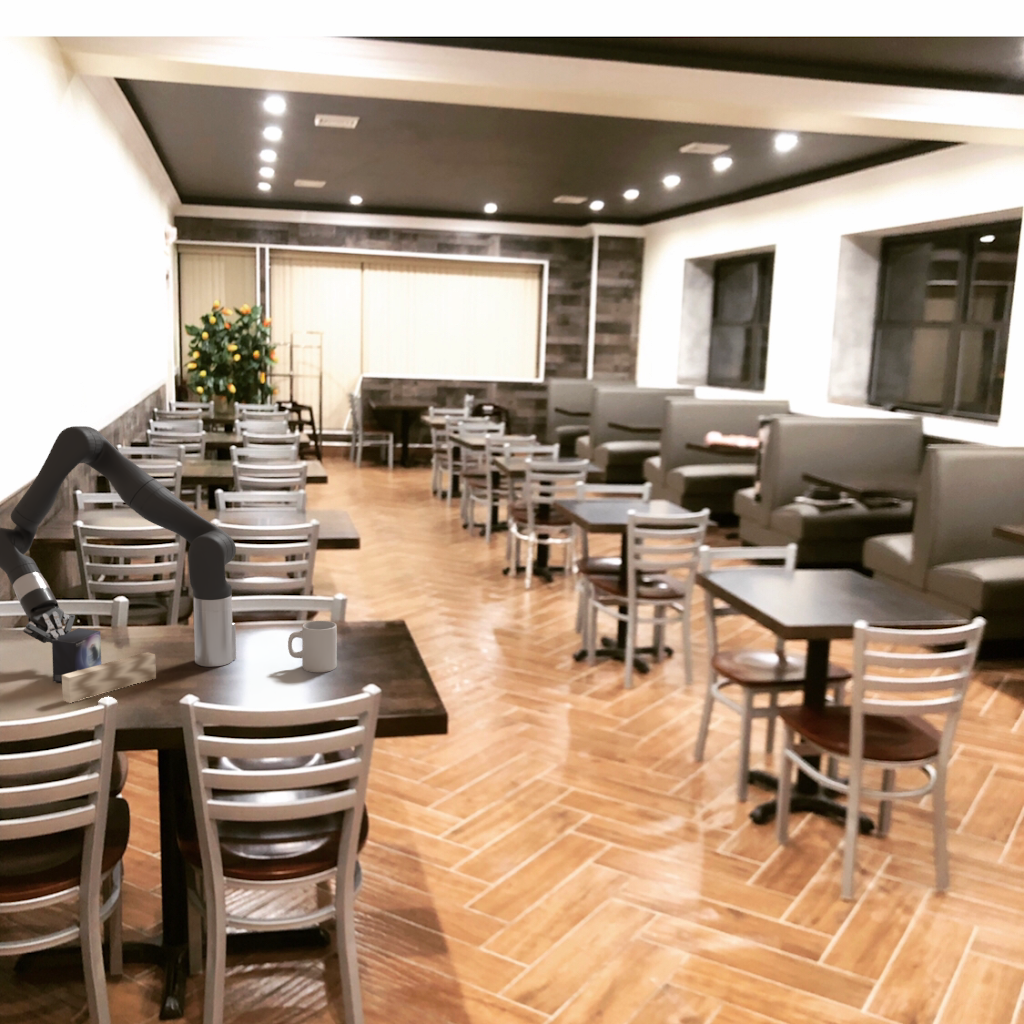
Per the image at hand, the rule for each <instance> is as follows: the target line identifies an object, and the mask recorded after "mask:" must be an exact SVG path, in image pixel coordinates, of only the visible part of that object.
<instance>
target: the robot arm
mask: <svg viewBox="0 0 1024 1024" xmlns="http://www.w3.org/2000/svg"><path fill="white" fill-rule="evenodd" d="M80 464H85V465H87V466H89V467H91V469H94V470H95V471H96V472H98V473H99V474H100V475H102V476H103V477H105V478H106V480H108V482H110V484H111V485H112V487H113V488H114V490H115V491H116V493H117V494H118V496H119V498H121V500H122V501H123V503H125V505H127V506H128V508H130V509H131V510H133V511H134V512H135V513H137V514H138V515H139V516H140V517H141V518H142V519H144V520H146V521H148V522H150V523H151V524H154V525H156V526H158V527H161V528H163V529H166V530H168V531H170V532H173V533H174V534H177V535H179V536H180V537H181V538H183V539H184V540H186V541H187V542H188V543H189V545H190V546H189V547H188V548H189V549H188V553H187V554H188V557H187V559H188V573H189V574H188V575H189V584H190V586H191V589H192V591H193V592H192V593H193V594H192V595H193V629H194V630H193V631H194V633H193V635H194V663H195V664H196V665H198V666H201V667H209V668H211V667H212V668H213V667H222V666H225V665H228V664H231V663H232V662H233V661H234V660H236V659H237V643H236V642H237V639H236V638H237V636H236V635H237V634H236V623H235V622H233V600H232V598H233V596H232V593H233V592H232V590H233V589H232V584H231V583H230V582H229V581H227V579H226V565H227V564H228V563H230V562H232V560H233V559H234V558H235V556H236V552H237V547H236V543H235V541H234V540H233V538H232V537H231V536H230V534H228V533H227V532H226V531H224V530H223V529H221V528H219V526H216V525H215V524H213V523H212V522H210V521H209V520H207V519H206V518H204V517H202V516H201V515H200V514H198V513H197V512H196V511H195V510H194V509H192V508H191V507H190V506H189V505H187V504H186V503H185V502H184V501H182V500H181V499H180V498H179V497H177V496H176V495H175V494H174V493H172V492H171V491H170V490H169V489H168V488H167V487H166V486H165V485H163V484H161V483H160V482H159V481H158V480H156V479H155V478H154V477H153V476H151V475H150V474H148V473H147V472H146V471H145V470H143V469H142V468H141V467H140V466H138V465H137V464H135V462H133V461H131V460H130V459H129V458H128V457H126V456H125V455H124V454H122V452H120V451H119V450H118V449H117V448H116V447H115V446H114V445H113V444H112V443H111V442H110V441H109V440H108V439H107V438H106V437H105V436H104V435H103V434H102V433H101V432H100V431H99V430H97V429H95V428H93V427H90V426H81V425H79V426H77V425H76V426H70V427H66V428H64V429H63V430H62V431H60V433H59V434H58V436H56V439H55V440H54V442H53V445H52V447H51V449H50V451H49V454H48V456H47V457H46V459H45V460H44V463H43V465H42V467H41V468H40V470H39V472H38V473H37V475H36V477H35V479H34V480H33V482H32V483H31V485H30V486H29V488H28V489H27V491H25V493H24V495H23V496H22V497H21V499H19V501H18V502H17V504H16V505H15V507H14V508H13V510H12V511H11V513H10V519H11V521H12V522H13V524H14V525H15V527H14V528H7V527H6V528H5V527H0V569H2V571H3V572H5V573H6V576H7V578H8V579H9V582H10V584H11V585H12V589H13V590H14V593H15V595H16V598H17V600H18V602H19V603H20V605H21V607H22V609H23V610H22V611H24V613H25V615H26V617H27V618H28V620H27V621H28V623H26V625H25V627H24V628H23V629H22V630H23V633H24V634H26V635H29V636H30V637H32V638H33V639H36V640H37V641H39V642H41V643H43V644H45V643H50V644H52V640H53V639H55V638H57V637H60V636H62V635H64V634H67V633H69V632H71V631H72V628H73V625H74V622H75V619H76V615H75V614H74V613H71V614H66V613H65V612H64V611H63V609H61V608H60V607H59V603H58V600H57V599H56V597H55V595H54V593H53V591H52V589H51V588H50V585H49V584H48V582H47V580H46V579H45V578H44V576H43V574H42V573H41V571H40V568H39V567H38V565H37V563H36V562H35V560H34V559H33V558H32V557H30V556H29V555H25V554H26V553H27V552H28V551H29V550H30V549H31V547H32V544H33V542H34V539H35V536H36V534H37V532H38V528H39V526H40V524H41V523H42V522H43V520H44V519H45V517H46V516H47V515H48V514H49V512H50V511H51V509H52V508H53V506H54V505H55V502H56V501H57V498H58V495H59V491H60V488H61V486H62V484H63V482H64V481H65V479H66V478H67V477H68V475H69V474H70V473H71V472H72V471H73V470H74V469H75V468H76V467H78V466H79V465H80ZM62 622H63V624H64V628H63V624H62Z"/></svg>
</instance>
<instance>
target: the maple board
mask: <svg viewBox="0 0 1024 1024" xmlns="http://www.w3.org/2000/svg"><path fill="white" fill-rule="evenodd" d="M156 662H157V661H156V654H155V653H151V652H149V651H146V652H142V653H139V654H135V655H131V656H127V657H123V658H120V659H119V658H118V659H117V660H112V661H107V662H104V663H101V665H97V666H93V667H90V668H86V669H82V670H78V671H75V672H71V673H67V674H63V675H62V683H61V687H62V689H61V691H62V701H63V702H65V701H66V703H68V702H69V703H68V704H70V703H71V704H73V703H72V702H74V701H78V700H80V699H83V698H86V697H90V696H94V695H97V694H100V693H102V692H107V691H112V690H115V689H118V688H122V687H125V688H127V687H126V686H129V687H131V686H130V685H132V686H134V685H133V684H136V685H138V684H137V683H139V684H142V683H146V682H148V681H152V679H153V680H155V679H157V670H156V669H157V668H156V666H157V665H156ZM145 681H146V682H145ZM141 682H142V683H141ZM122 689H123V688H122ZM115 691H116V690H115ZM112 692H113V691H112ZM78 702H79V701H78ZM74 703H75V702H74Z"/></svg>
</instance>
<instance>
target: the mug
mask: <svg viewBox="0 0 1024 1024" xmlns="http://www.w3.org/2000/svg"><path fill="white" fill-rule="evenodd" d="M337 629H338V627H337V623H335V622H333V621H329V620H313V621H308V622H305V623H303V624H302V629H301V630H298V631H297V630H296V631H293V632H291V633H290V635H289V637H288V641H287V648H288V649H287V650H288V652H289V655H290V656H291V657H292V658H295V659H302V661H301V662H302V664H301V665H302V669H303V670H304V671H306V672H311V673H326V672H327V673H328V672H330V671H333V670H335V669H336V668H337V666H338V660H337V659H338V658H337V657H338V656H337V654H338V653H337V652H338V651H337V649H338V648H337V644H338V643H337V638H338V637H337V636H338V635H337V632H338V631H337ZM295 638H299V639H301V640H302V641H301V644H302V649H301V650H299V651H295V650H294V649H293V641H294V639H295Z"/></svg>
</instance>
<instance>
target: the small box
mask: <svg viewBox="0 0 1024 1024" xmlns="http://www.w3.org/2000/svg"><path fill="white" fill-rule="evenodd" d="M101 640H102V639H101V630H95V629H88V628H87V629H86V628H80V627H78V628H75V629H73V630H71V632H69V633H67V634H64V635H62V636H60V637H57V638H55V639H53V640H52V643H51V644H52V646H51V649H52V652H51V653H52V656H51V657H52V682H53V683H61V684H62V675H63V674H67V673H71V672H75V671H78V670H82V669H86V668H90V667H93V666H97V665H101V664H102V648H101V647H102V646H101V643H102V642H101Z"/></svg>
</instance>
